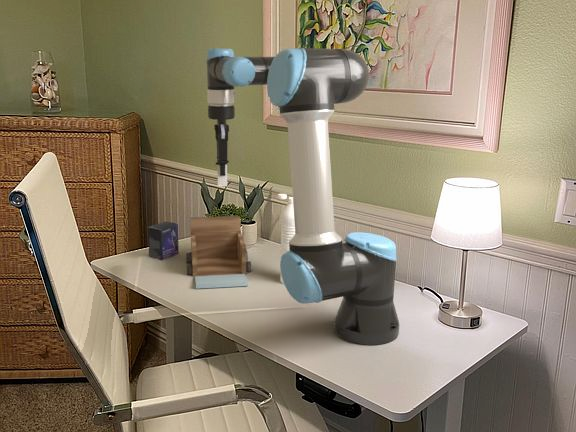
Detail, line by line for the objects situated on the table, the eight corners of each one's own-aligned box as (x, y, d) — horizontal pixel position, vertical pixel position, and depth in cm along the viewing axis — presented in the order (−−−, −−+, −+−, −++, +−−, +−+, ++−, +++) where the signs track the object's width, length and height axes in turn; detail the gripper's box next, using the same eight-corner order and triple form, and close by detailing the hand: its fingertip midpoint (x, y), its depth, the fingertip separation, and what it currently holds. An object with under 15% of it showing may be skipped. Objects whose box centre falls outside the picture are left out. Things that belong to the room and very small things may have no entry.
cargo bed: (251, 276, 178) (251, 233, 175) (187, 280, 175) (185, 236, 172) (245, 255, 196) (244, 215, 193) (186, 257, 193) (184, 217, 190)
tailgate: (245, 277, 177) (248, 285, 169) (194, 279, 175) (195, 288, 166) (245, 273, 177) (248, 281, 169) (194, 275, 175) (195, 284, 166)
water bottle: (308, 284, 174) (310, 197, 167) (291, 290, 169) (292, 201, 162) (286, 275, 180) (287, 192, 173) (270, 281, 175) (270, 195, 169)
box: (162, 263, 189) (160, 229, 186) (148, 259, 191) (146, 226, 188) (179, 256, 195) (178, 223, 192) (166, 252, 198) (164, 220, 195)
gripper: (236, 106, 170) (237, 190, 177) (232, 102, 182) (233, 180, 189) (209, 107, 169) (210, 191, 175) (206, 102, 181) (208, 181, 188)
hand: (222, 185), depth 182 cm, fingers closed
